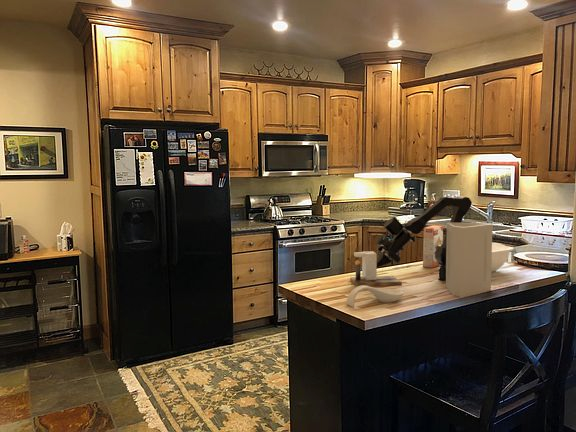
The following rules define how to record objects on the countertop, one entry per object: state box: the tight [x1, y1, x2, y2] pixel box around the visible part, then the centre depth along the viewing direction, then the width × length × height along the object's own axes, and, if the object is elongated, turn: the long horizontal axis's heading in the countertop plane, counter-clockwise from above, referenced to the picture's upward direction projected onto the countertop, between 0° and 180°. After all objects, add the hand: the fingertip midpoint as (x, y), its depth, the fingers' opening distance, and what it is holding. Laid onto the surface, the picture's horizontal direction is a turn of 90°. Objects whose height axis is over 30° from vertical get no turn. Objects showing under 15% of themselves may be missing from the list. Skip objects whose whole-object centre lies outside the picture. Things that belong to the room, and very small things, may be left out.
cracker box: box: [422, 225, 444, 269], centre depth 247 cm, size 14×6×21 cm, turn 143°
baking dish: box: [439, 242, 514, 273], centre depth 233 cm, size 34×28×13 cm
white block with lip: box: [353, 250, 378, 280], centre depth 210 cm, size 9×6×12 cm, turn 96°
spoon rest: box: [346, 285, 404, 308], centre depth 180 cm, size 24×12×7 cm, turn 115°
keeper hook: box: [354, 259, 362, 280], centre depth 210 cm, size 3×3×9 cm
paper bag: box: [445, 222, 493, 298], centre depth 195 cm, size 19×15×28 cm
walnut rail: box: [349, 275, 403, 288], centre depth 212 cm, size 20×12×2 cm, turn 96°
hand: (375, 267), depth 211 cm, fingers closed, pressing on white block with lip
